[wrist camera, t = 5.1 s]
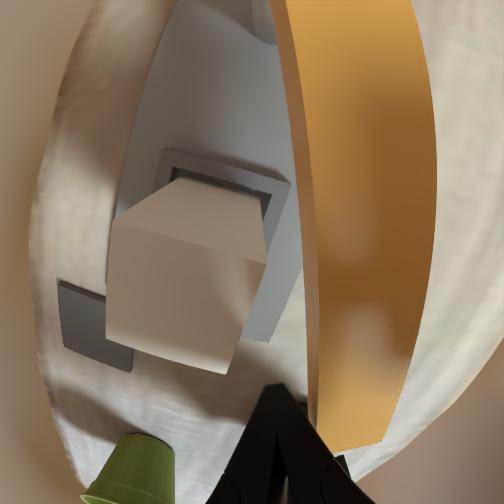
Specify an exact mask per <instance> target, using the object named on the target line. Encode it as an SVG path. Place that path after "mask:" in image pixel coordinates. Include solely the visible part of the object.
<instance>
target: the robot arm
mask: <svg viewBox="0 0 504 504" xmlns="http://www.w3.org/2000/svg"><path fill="white" fill-rule="evenodd" d="M205 504H376V503H375V502H374V501H373V500H371V499H370V498H369V497H368V496H367V495H366V494H365V493H364V492H363V491H362V490H361V489H360V488H359V487H358V486H357V485H356V484H355V483H354V482H353V480H352V479H351V476H350V473H349V470H348V467H347V464H346V461H345V458H344V455H339V456H337V457H334V456H333V454H332V453H331V451H330V450H329V449H328V447H327V446H326V444H325V443H324V441H323V440H322V438H321V437H320V436H319V434H318V433H317V431H316V430H315V428H314V427H313V425H312V424H311V422H310V421H309V418H308V405H307V404H299V403H297V401H296V400H295V398H294V397H293V395H292V394H291V392H290V391H289V389H288V388H287V386H286V385H285V383H284V382H280V383H274V384H268V385H265V386H264V387H263V390H262V392H261V394H260V397H259V399H258V401H257V403H256V405H255V408H254V410H253V412H252V414H251V417H250V419H249V421H248V423H247V425H246V427H245V429H244V432H243V434H242V436H241V438H240V440H239V442H238V444H237V446H236V448H235V450H234V452H233V454H232V456H231V458H230V460H229V462H228V464H227V466H226V468H225V470H224V473H223V474H222V476H221V478H220V480H219V482H218V484H217V485H216V487H215V489H214V491H213V492H212V494H211V496H210V497H209V499H208V500H207V502H206V503H205Z"/></svg>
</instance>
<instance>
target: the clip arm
mask: <svg viewBox="0 0 504 504" xmlns="http://www.w3.org/2000/svg"><path fill="white" fill-rule="evenodd" d="M269 2H270V7H271V12H272V17H273V22H274V28H275V33H276V39H277V44H278V50H279V56H280V62H281V68H282V75H283V81H284V88H285V95H286V102H287V109H288V116H289V124H290V131H291V140H292V148H293V156H294V165H295V175H296V184H297V195H298V205H299V216H300V228H301V241H302V255H303V270H304V287H305V307H306V332H307V372H308V418H309V421H310V422H311V424H312V425H313V427H314V428H315V430H316V431H317V433H318V434H319V436H320V437H321V438H322V440H323V441H324V443H325V444H326V446H327V447H328V449H329V450H330V451H331V453H335V452H340V451H345V450H349V449H354V448H358V447H362V446H367V445H370V444H374V443H378V442H382V439H383V437H384V435H385V432H386V430H387V428H388V425H389V423H390V420H391V418H392V415H393V413H394V410H395V407H396V405H397V402H398V399H399V396H400V393H401V390H402V387H403V384H404V381H405V378H406V375H407V372H408V369H409V365H410V362H411V358H412V355H413V351H414V347H415V343H416V340H417V336H418V331H419V327H420V323H421V318H422V314H423V309H424V304H425V298H426V293H427V287H428V281H429V274H430V267H431V260H432V252H433V242H434V232H435V218H436V197H437V156H436V135H435V122H434V112H433V103H432V95H431V88H430V81H429V75H428V69H427V64H426V59H425V54H424V49H423V45H422V41H421V37H420V33H419V29H418V25H417V21H416V18H415V14H414V11H413V8H412V5H411V1H410V0H269Z"/></svg>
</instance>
